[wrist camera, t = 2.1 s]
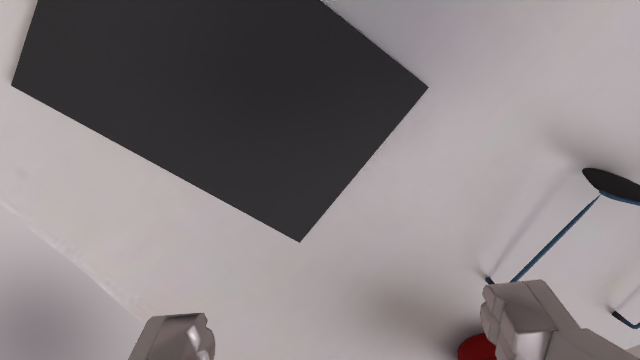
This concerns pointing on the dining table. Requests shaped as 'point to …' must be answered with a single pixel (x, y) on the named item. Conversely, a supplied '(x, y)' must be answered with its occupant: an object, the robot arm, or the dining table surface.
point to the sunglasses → (608, 187)
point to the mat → (224, 94)
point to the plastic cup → (477, 349)
